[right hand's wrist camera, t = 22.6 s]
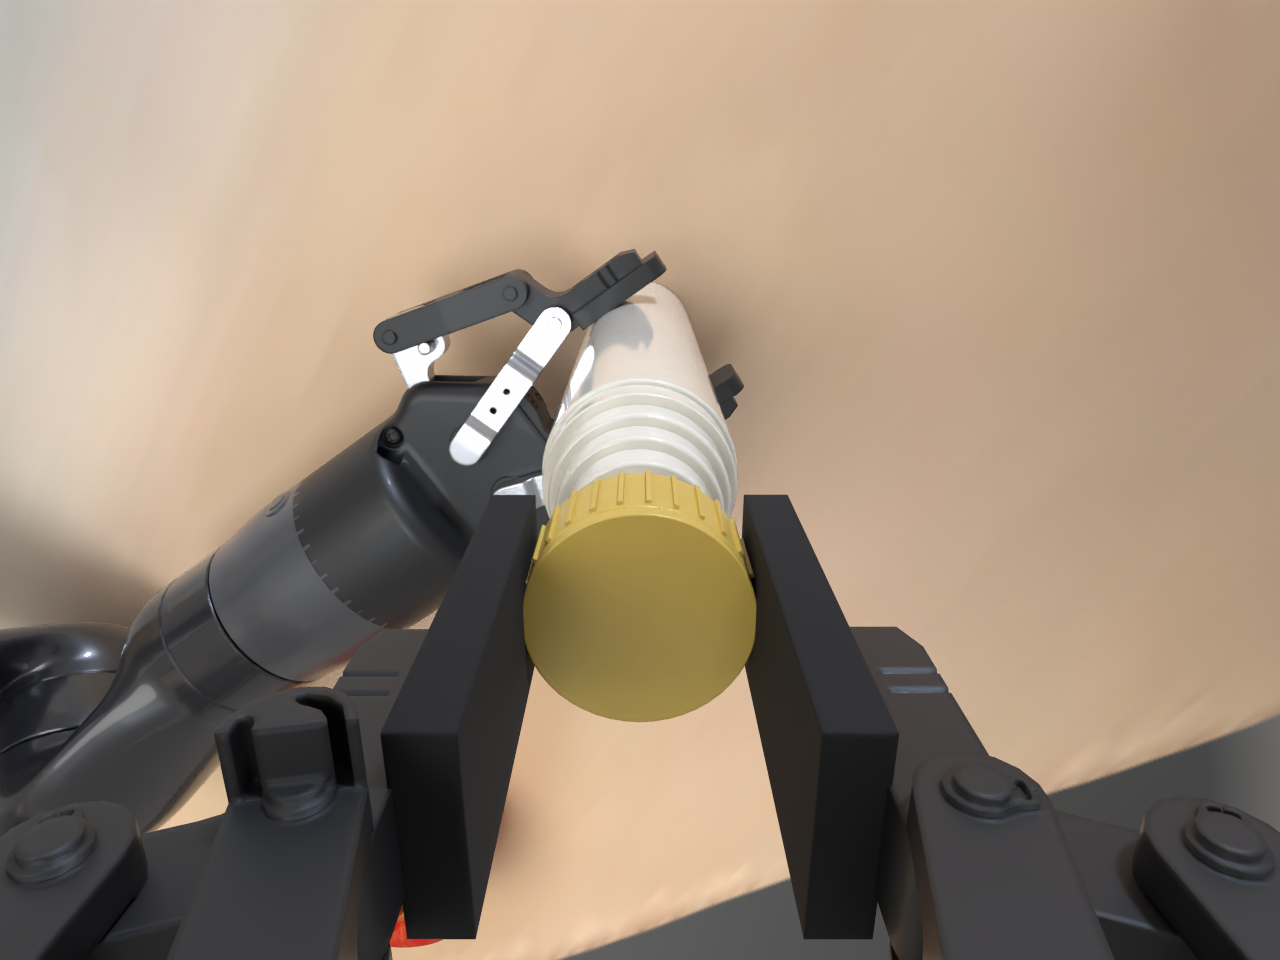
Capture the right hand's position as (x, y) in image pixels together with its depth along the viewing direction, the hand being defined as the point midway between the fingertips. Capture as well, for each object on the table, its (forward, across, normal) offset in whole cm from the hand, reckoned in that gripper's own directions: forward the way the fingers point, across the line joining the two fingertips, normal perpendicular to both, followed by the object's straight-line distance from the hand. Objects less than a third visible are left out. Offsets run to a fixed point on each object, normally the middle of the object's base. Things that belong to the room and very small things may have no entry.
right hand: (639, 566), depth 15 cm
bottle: (+24, 0, 0) cm, 24 cm away
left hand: (+18, -2, -2) cm, 18 cm away
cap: (-2, 0, 0) cm, 2 cm away
